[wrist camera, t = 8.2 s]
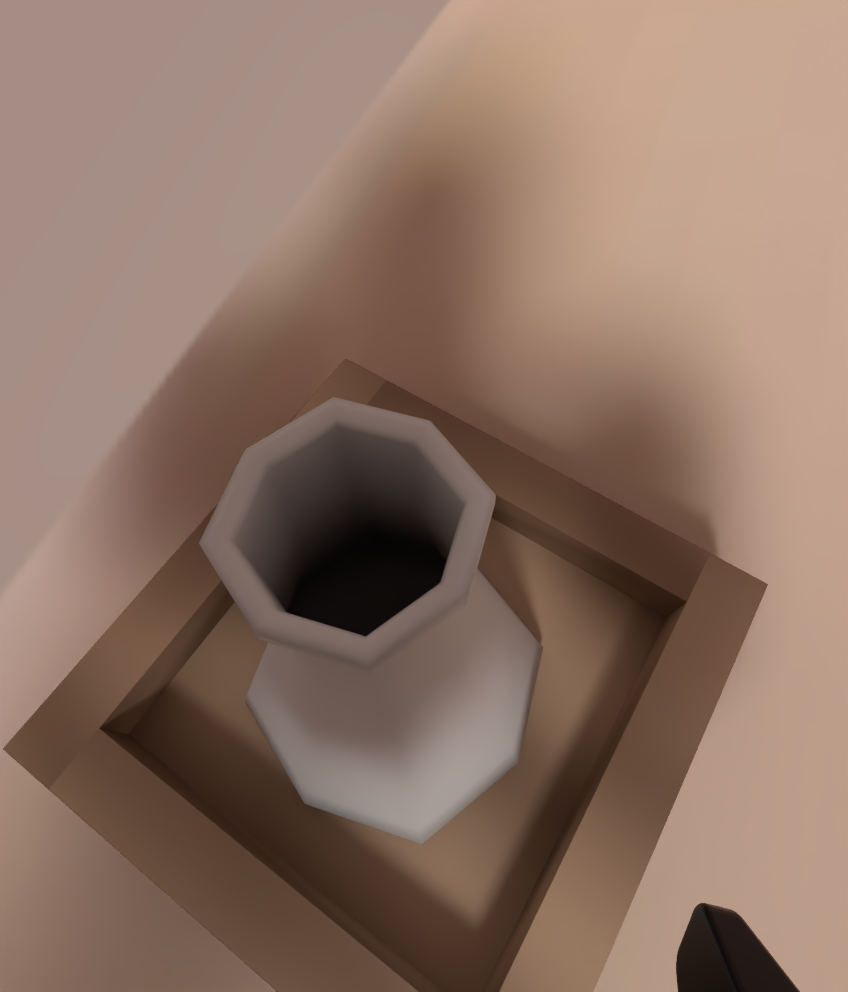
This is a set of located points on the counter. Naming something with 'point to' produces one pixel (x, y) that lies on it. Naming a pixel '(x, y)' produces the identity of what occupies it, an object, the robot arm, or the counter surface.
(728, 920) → the robot arm
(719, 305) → the counter surface
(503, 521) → the tray
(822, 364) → the counter surface
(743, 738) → the counter surface
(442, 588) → the flask
